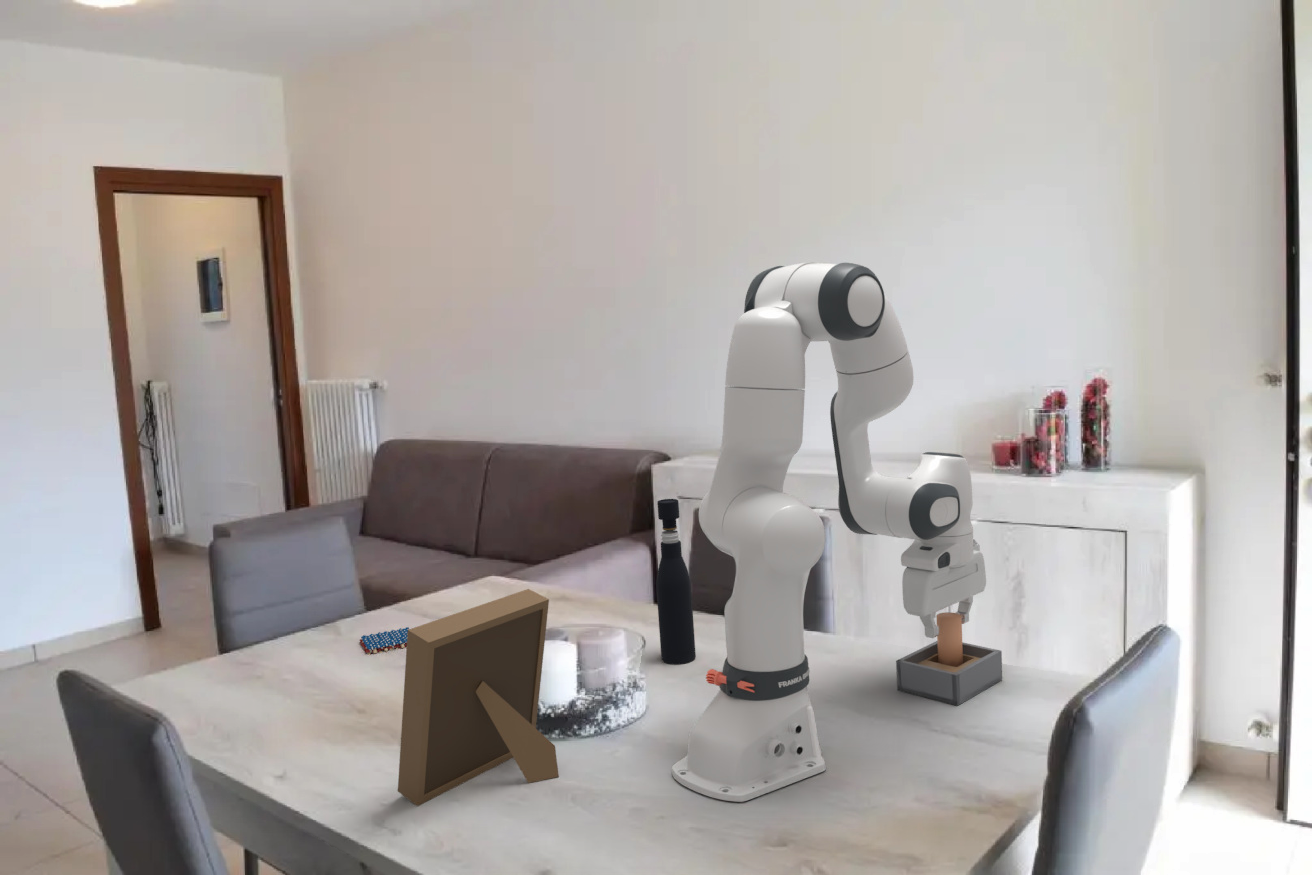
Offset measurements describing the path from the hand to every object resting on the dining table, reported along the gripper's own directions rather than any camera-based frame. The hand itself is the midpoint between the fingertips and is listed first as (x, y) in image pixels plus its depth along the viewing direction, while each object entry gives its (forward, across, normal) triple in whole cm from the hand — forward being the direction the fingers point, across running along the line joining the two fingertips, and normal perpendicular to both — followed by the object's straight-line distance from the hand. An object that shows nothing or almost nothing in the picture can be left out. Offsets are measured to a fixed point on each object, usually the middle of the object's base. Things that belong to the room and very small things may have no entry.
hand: (947, 629), depth 167 cm
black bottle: (+9, +20, -44) cm, 50 cm away
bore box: (+8, +2, +2) cm, 9 cm away
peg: (+8, 0, 0) cm, 8 cm away
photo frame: (+10, +71, -30) cm, 78 cm away
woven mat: (+10, +50, -100) cm, 113 cm away
